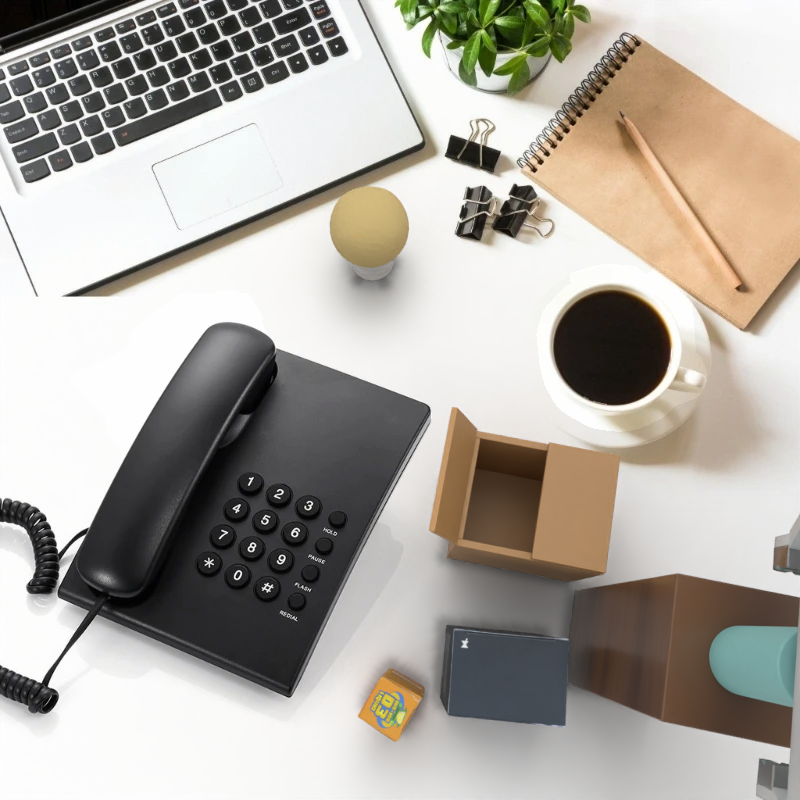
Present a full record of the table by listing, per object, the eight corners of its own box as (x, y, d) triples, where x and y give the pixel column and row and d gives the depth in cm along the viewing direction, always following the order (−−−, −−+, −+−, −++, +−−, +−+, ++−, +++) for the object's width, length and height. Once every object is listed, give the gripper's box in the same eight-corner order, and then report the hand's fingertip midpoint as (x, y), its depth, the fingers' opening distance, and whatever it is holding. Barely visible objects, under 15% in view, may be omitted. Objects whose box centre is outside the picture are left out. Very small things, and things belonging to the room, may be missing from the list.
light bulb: (334, 234, 72) (323, 175, 62) (405, 228, 72) (404, 167, 63) (339, 300, 70) (328, 250, 61) (412, 293, 71) (412, 242, 61)
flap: (457, 543, 53) (451, 542, 53) (477, 428, 55) (472, 428, 55) (434, 531, 48) (428, 530, 49) (457, 407, 50) (451, 406, 51)
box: (439, 700, 62) (445, 716, 51) (445, 624, 63) (452, 625, 53) (541, 710, 61) (567, 729, 51) (545, 634, 63) (571, 637, 53)
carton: (446, 557, 64) (454, 544, 53) (463, 461, 67) (475, 427, 55) (570, 582, 64) (606, 574, 52) (583, 484, 66) (622, 455, 54)
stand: (663, 607, 63) (820, 601, 39) (653, 700, 62) (811, 753, 37) (575, 590, 64) (676, 572, 40) (562, 681, 62) (660, 721, 38)
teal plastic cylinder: (778, 633, 39) (900, 637, 29) (773, 702, 38) (897, 730, 28) (711, 619, 39) (811, 620, 29) (705, 688, 38) (805, 711, 29)
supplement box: (387, 663, 62) (383, 671, 53) (425, 687, 62) (428, 700, 52) (364, 702, 62) (356, 718, 52) (403, 727, 61) (402, 747, 52)
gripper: (1166, 1202, 18) (845, 954, 32) (1131, 357, 23) (868, 452, 37) (883, 1135, 19) (684, 918, 32) (910, 319, 24) (729, 426, 37)
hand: (782, 664), depth 34 cm, fingers open, 8 cm apart
